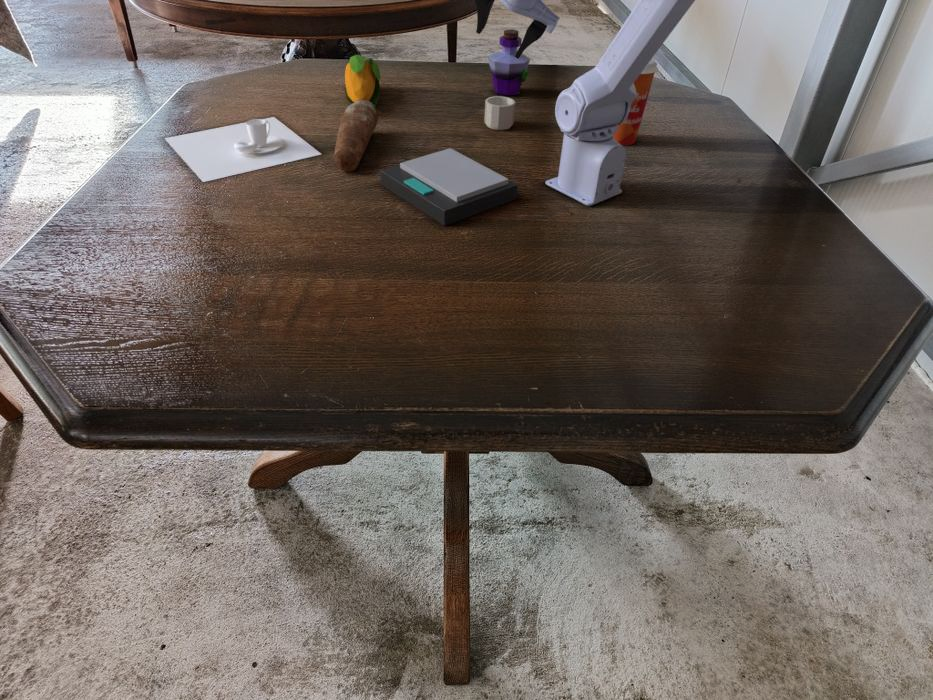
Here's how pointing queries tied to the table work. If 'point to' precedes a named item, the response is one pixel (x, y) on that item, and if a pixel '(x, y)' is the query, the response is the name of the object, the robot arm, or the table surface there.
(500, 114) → the white faceted cup
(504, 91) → the potion bottle
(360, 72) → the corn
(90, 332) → the table surface
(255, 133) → the teacup and saucer
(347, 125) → the brown yam
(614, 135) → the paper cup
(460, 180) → the scale
